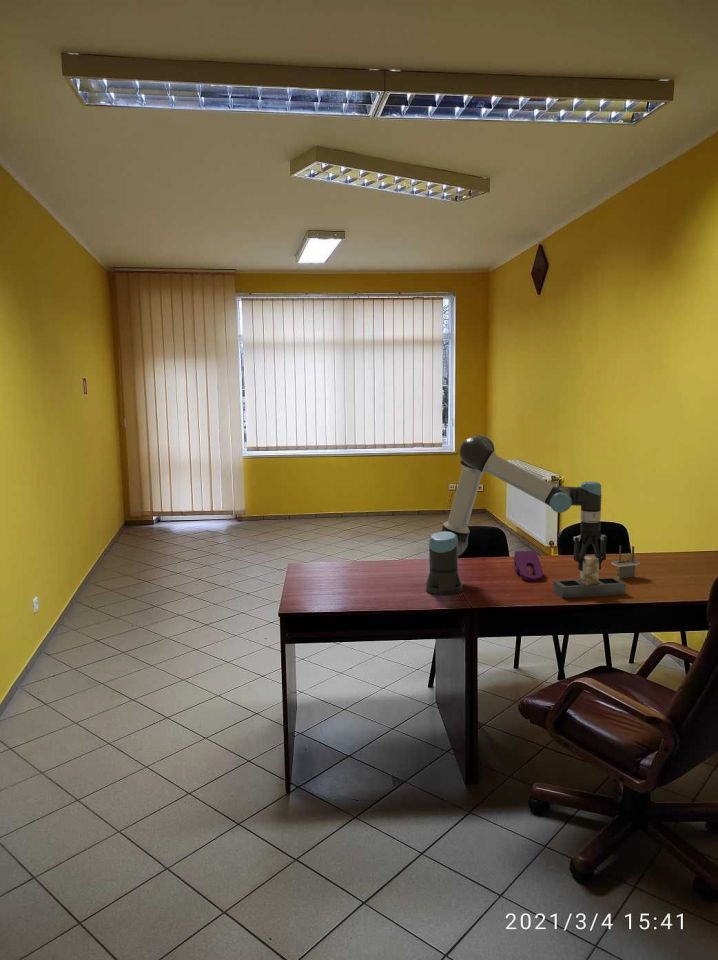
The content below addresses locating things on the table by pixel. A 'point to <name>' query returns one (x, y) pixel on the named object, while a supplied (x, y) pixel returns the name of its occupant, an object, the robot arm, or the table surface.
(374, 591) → the table surface
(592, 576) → the peg
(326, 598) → the table surface
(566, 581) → the dark grey long frame
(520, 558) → the mounting bracket
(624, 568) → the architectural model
